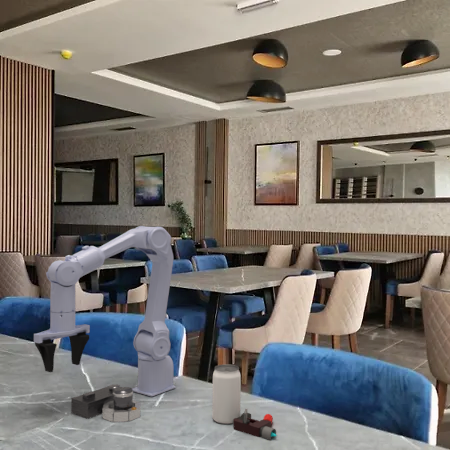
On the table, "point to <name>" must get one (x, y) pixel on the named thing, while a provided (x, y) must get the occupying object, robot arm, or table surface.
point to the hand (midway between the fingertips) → (62, 367)
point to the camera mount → (103, 406)
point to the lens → (123, 398)
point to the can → (226, 393)
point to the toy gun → (255, 426)
